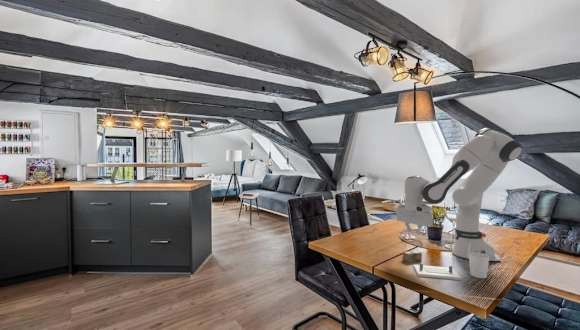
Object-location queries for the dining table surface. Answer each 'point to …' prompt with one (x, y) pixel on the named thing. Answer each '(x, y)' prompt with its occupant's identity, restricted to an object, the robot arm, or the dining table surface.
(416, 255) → the walnut frame
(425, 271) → the wall panel
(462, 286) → the dining table surface
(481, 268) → the pale white cylinder
